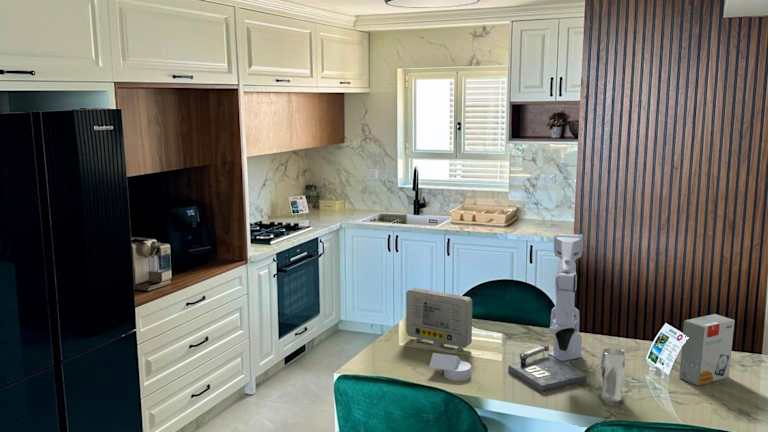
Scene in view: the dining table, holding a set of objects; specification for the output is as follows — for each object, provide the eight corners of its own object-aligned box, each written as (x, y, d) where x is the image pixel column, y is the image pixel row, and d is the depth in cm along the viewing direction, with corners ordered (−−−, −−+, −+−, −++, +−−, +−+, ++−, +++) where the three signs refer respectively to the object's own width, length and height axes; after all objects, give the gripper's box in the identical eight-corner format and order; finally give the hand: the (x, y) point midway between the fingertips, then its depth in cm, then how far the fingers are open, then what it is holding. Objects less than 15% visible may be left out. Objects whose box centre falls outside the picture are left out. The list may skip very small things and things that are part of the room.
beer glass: (595, 393, 209) (598, 347, 206) (617, 392, 210) (620, 346, 207) (605, 403, 202) (607, 356, 200) (627, 402, 203) (630, 355, 200)
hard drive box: (698, 387, 213) (703, 327, 210) (678, 378, 220) (682, 320, 216) (730, 377, 220) (735, 319, 217) (709, 369, 227) (714, 312, 223)
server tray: (550, 362, 233) (551, 351, 232) (586, 382, 217) (587, 370, 216) (508, 372, 226) (508, 360, 225) (542, 392, 210) (542, 380, 209)
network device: (474, 348, 247) (475, 296, 244) (463, 355, 240) (464, 302, 237) (414, 335, 261) (414, 285, 257) (402, 342, 254) (402, 291, 250)
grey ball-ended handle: (524, 360, 224) (524, 355, 224) (518, 358, 226) (518, 353, 225) (548, 350, 233) (549, 345, 232) (543, 348, 234) (543, 343, 234)
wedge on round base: (429, 376, 222) (467, 382, 218) (429, 357, 221) (467, 362, 217) (436, 366, 231) (473, 371, 226) (436, 348, 230) (474, 352, 225)
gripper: (565, 302, 223) (564, 340, 225) (541, 311, 213) (540, 352, 215) (585, 306, 218) (583, 346, 220) (561, 316, 208) (559, 358, 210)
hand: (563, 349), depth 217 cm, fingers closed
